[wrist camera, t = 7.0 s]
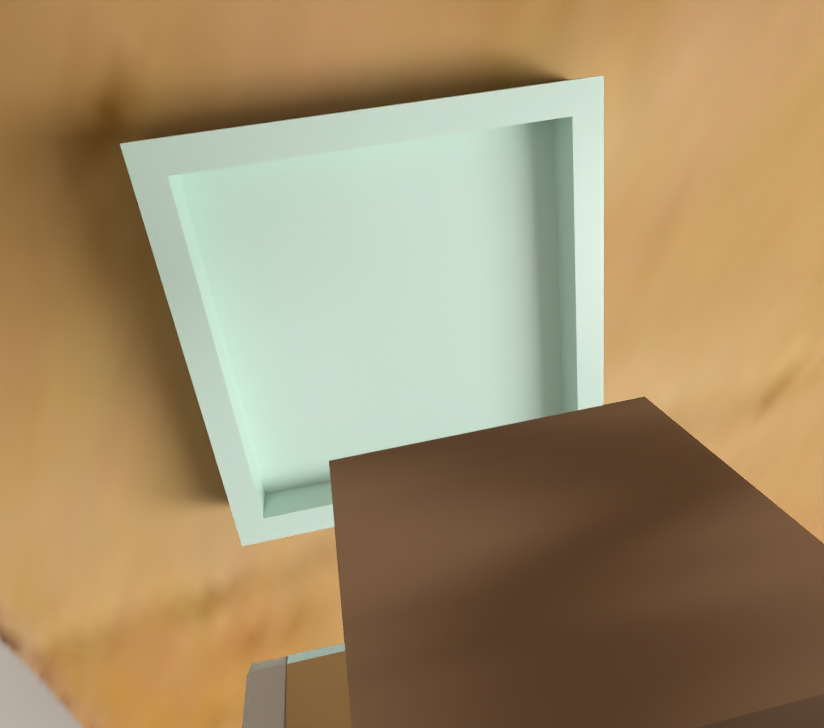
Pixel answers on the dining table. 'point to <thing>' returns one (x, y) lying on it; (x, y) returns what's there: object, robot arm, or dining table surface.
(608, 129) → the dining table surface
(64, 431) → the dining table surface
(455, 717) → the block
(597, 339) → the tray
